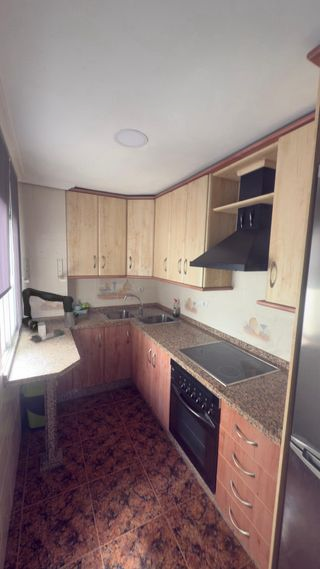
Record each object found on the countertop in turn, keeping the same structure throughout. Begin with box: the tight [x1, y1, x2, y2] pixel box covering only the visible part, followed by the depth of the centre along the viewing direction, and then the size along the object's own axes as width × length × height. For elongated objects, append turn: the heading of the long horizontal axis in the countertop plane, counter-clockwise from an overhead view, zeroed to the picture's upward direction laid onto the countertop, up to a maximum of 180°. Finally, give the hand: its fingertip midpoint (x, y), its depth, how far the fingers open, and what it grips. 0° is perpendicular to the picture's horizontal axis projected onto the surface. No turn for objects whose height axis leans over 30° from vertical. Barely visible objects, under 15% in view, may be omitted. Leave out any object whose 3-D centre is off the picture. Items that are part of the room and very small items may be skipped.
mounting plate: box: [29, 328, 67, 346], centre depth 223 cm, size 28×14×4 cm, turn 140°
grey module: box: [37, 321, 47, 336], centre depth 230 cm, size 5×5×12 cm
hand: (40, 327), depth 232 cm, fingers open, 8 cm apart
